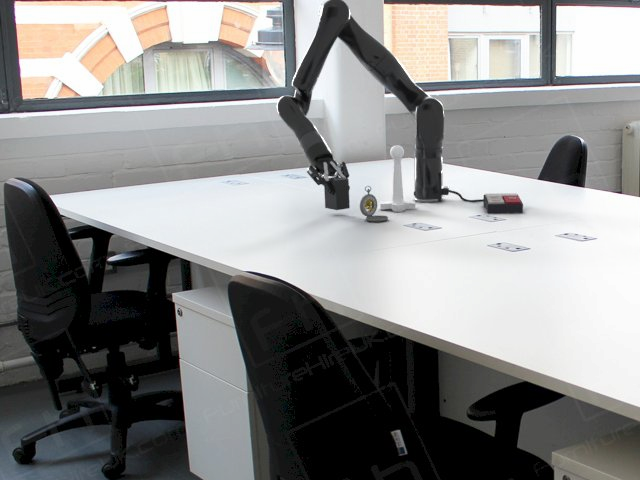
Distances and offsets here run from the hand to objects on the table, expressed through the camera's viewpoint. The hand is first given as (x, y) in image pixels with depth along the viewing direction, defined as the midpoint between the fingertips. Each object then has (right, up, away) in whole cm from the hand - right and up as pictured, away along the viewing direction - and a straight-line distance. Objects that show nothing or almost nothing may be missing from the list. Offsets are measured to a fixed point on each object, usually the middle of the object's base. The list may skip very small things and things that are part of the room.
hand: (340, 191), depth 324 cm
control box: (+51, -4, +8) cm, 52 cm away
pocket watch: (+11, -10, -6) cm, 16 cm away
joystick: (+18, -4, +10) cm, 21 cm away
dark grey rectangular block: (-1, -4, +3) cm, 6 cm away
